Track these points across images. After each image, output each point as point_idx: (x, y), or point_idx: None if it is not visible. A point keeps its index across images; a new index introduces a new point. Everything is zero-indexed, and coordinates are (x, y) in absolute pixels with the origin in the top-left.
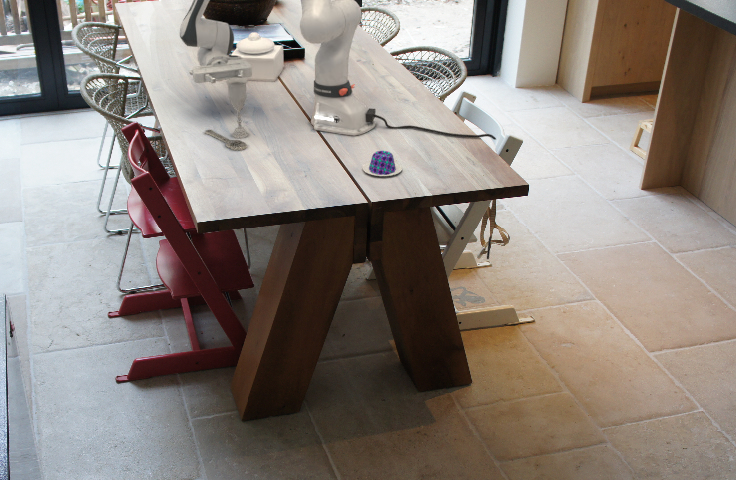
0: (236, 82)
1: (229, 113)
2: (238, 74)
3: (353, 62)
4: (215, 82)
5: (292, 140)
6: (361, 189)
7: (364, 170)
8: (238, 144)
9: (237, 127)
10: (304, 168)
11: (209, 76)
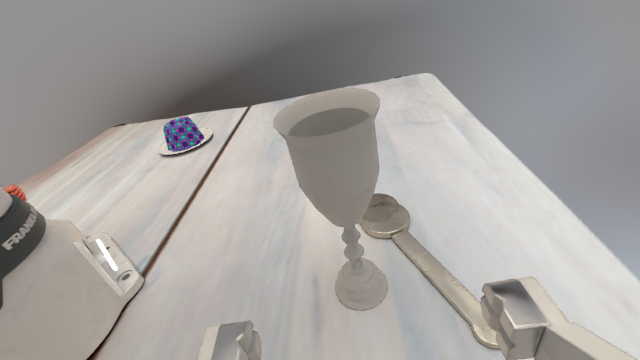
0: (322, 151)
1: None
2: (238, 340)
3: None
4: (484, 305)
5: (235, 233)
6: (242, 116)
7: (209, 136)
8: (374, 207)
9: (365, 281)
10: (276, 145)
11: (585, 335)
